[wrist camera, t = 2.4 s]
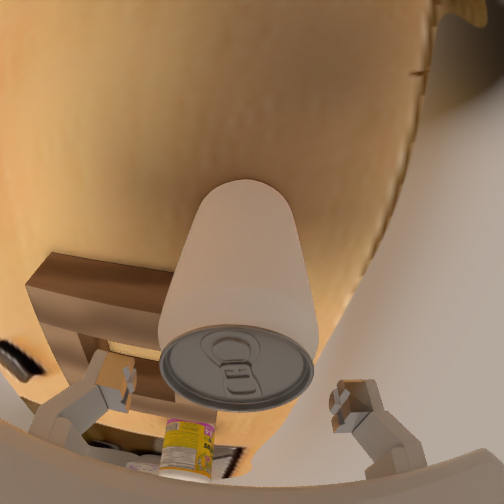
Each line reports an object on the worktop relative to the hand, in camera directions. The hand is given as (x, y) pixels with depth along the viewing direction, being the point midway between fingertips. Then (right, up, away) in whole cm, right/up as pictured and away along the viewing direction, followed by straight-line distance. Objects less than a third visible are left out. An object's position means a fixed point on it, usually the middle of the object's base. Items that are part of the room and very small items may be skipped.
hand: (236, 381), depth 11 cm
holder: (-10, -3, +16) cm, 19 cm away
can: (0, +7, +10) cm, 12 cm away
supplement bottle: (-8, -18, +26) cm, 33 cm away
